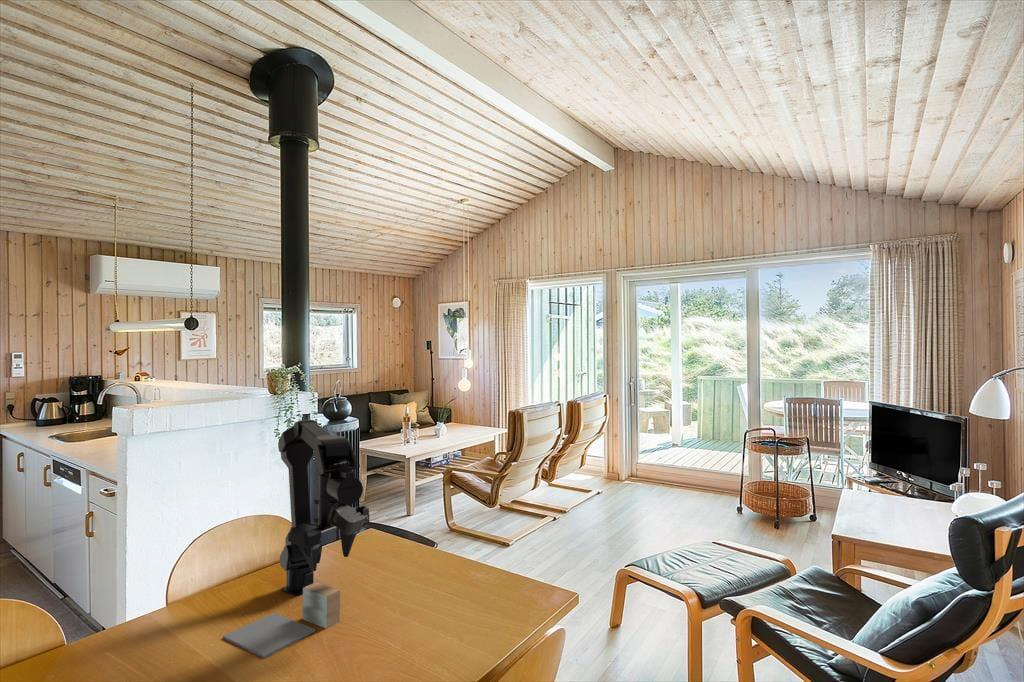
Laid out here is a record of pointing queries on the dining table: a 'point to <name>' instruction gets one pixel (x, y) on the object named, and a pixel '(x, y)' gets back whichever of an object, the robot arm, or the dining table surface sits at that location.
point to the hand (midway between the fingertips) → (330, 563)
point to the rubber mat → (268, 634)
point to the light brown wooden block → (321, 605)
